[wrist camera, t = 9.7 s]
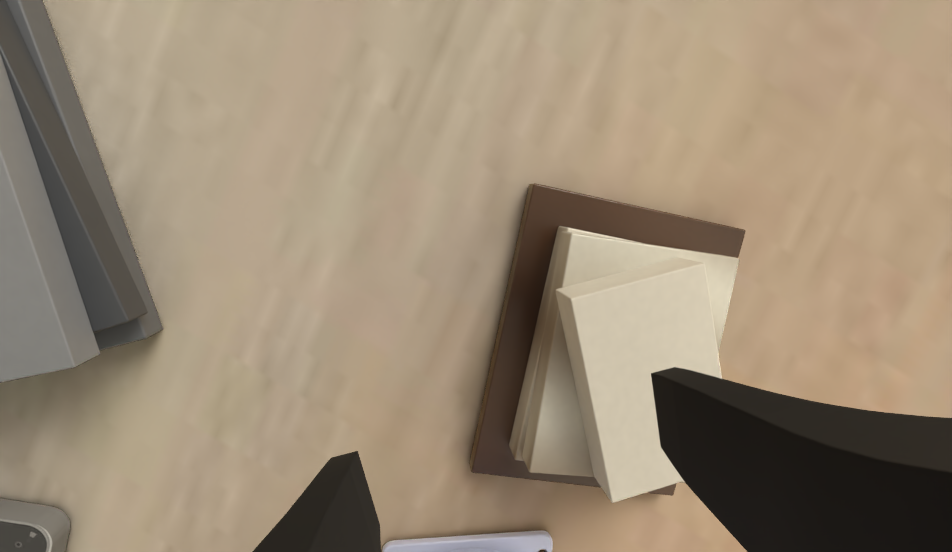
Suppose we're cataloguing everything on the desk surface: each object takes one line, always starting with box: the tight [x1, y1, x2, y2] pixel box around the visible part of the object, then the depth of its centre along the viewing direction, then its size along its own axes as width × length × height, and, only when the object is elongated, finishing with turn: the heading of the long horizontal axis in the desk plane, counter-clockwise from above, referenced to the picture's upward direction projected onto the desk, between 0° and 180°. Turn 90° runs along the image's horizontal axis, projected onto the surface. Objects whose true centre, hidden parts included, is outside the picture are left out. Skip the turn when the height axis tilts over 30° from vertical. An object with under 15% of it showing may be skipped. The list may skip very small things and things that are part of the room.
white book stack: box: [470, 184, 745, 495], centre depth 21 cm, size 13×10×3 cm
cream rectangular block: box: [556, 257, 722, 503], centre depth 19 cm, size 8×5×2 cm, turn 13°
